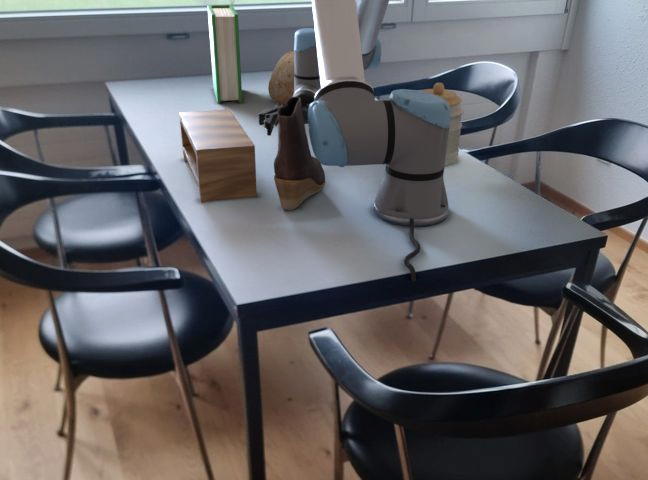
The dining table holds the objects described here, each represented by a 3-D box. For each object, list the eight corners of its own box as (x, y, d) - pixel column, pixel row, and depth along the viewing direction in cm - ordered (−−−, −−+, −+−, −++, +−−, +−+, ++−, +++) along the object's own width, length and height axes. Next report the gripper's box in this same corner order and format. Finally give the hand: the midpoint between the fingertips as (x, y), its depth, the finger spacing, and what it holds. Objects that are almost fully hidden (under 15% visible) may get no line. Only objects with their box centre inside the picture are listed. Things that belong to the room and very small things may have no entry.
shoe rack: (256, 196, 148) (254, 145, 142) (201, 202, 145) (196, 150, 139) (232, 155, 170) (229, 109, 164) (183, 159, 167) (178, 112, 161)
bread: (357, 93, 221) (359, 41, 212) (352, 113, 202) (354, 58, 193) (275, 89, 222) (274, 38, 214) (263, 109, 204) (261, 54, 195)
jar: (421, 170, 164) (429, 91, 153) (395, 153, 173) (401, 78, 163) (467, 163, 168) (478, 87, 158) (439, 147, 178) (448, 74, 167)
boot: (331, 175, 160) (334, 83, 148) (309, 215, 141) (309, 114, 129) (295, 172, 161) (294, 81, 149) (267, 211, 142) (264, 111, 130)
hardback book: (242, 102, 209) (237, 14, 195) (217, 103, 208) (211, 14, 194) (236, 88, 223) (232, 4, 209) (213, 89, 222) (207, 5, 208)
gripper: (354, 122, 176) (352, 149, 159) (257, 118, 177) (244, 145, 160) (355, 91, 172) (353, 115, 154) (255, 88, 172) (243, 111, 155)
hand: (298, 130), depth 157 cm, fingers open, 13 cm apart
